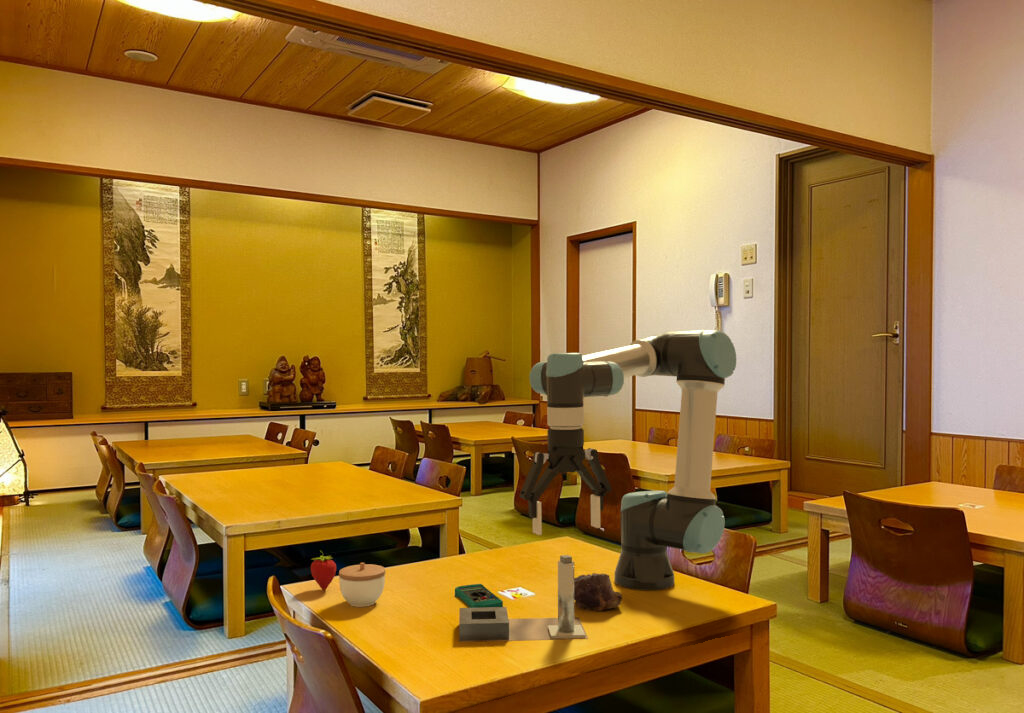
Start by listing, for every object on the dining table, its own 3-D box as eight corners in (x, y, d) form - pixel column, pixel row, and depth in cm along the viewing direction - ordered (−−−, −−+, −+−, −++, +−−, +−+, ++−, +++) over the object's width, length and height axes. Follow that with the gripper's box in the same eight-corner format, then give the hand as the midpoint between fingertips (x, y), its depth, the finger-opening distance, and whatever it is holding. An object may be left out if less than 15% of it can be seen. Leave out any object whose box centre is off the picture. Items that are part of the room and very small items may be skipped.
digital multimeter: (474, 616, 172) (473, 603, 172) (453, 597, 186) (453, 585, 186) (504, 612, 175) (504, 599, 175) (482, 594, 189) (482, 582, 189)
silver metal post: (577, 631, 157) (577, 557, 158) (562, 633, 156) (562, 559, 156) (569, 626, 161) (569, 553, 161) (555, 628, 159) (555, 555, 159)
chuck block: (506, 622, 165) (506, 607, 165) (509, 639, 155) (509, 622, 155) (459, 624, 164) (459, 608, 164) (459, 640, 154) (459, 623, 154)
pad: (580, 627, 162) (580, 624, 162) (585, 637, 156) (585, 634, 156) (547, 628, 161) (547, 625, 161) (551, 638, 155) (551, 635, 155)
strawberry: (319, 595, 186) (319, 554, 186) (305, 589, 192) (305, 548, 192) (341, 591, 190) (341, 550, 190) (327, 584, 196) (327, 545, 196)
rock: (589, 605, 182) (560, 614, 175) (585, 568, 183) (556, 575, 177) (628, 608, 174) (599, 617, 167) (623, 570, 175) (595, 577, 168)
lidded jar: (394, 602, 181) (394, 562, 181) (356, 613, 173) (356, 571, 173) (367, 593, 188) (367, 555, 188) (329, 603, 180) (329, 563, 180)
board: (578, 620, 168) (578, 617, 168) (588, 641, 155) (588, 638, 155) (459, 622, 166) (459, 620, 166) (459, 644, 154) (459, 641, 154)
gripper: (608, 423, 167) (609, 520, 167) (502, 428, 157) (504, 532, 157) (627, 425, 160) (628, 527, 160) (517, 432, 150) (519, 540, 150)
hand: (566, 530), depth 159 cm, fingers open, 13 cm apart
